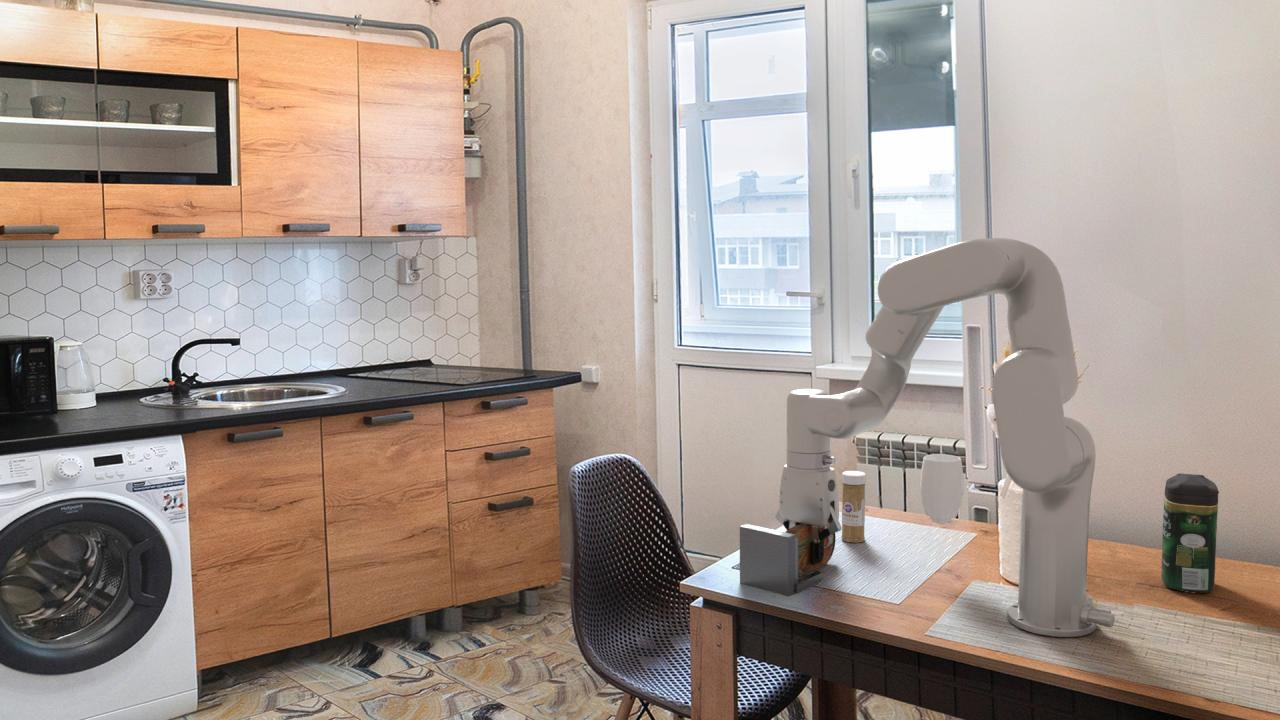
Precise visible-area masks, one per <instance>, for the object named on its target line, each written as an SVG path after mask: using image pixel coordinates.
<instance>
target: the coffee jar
mask: <svg viewBox="0 0 1280 720" xmlns="http://www.w3.org/2000/svg"><path fill="white" fill-rule="evenodd" d="M1219 494H1220V491H1219V489H1218V486H1217V485H1216V483H1215V482H1213V480H1210V479H1209V478H1207V477H1205V476H1204V475H1203V474H1194V473H1193V474H1191V473H1176V474H1175V475H1173V476H1171V477H1169V478H1168V479H1167V480H1165V487H1164V498H1163V499H1164V500H1163V510H1162V513H1163V515H1162V539H1161V540H1162V542H1161V544H1162V549H1161V550H1162V552H1161V580H1162V582H1163V584H1164V586H1165V585H1166V586H1165V587H1167V588H1168V587H1169V588H1168V589H1172V588H1173V590H1176V589H1177V590H1176V591H1179V590H1183V591H1188V592H1200V594H1201V592H1202V593H1210V592H1212V591H1213V590H1214V589H1215V579H1216V578H1215V577H1216V551H1217V550H1216V549H1217V533H1218V532H1217V530H1218V512H1219V511H1218V510H1219Z"/></svg>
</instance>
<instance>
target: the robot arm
mask: <svg viewBox="0 0 1280 720" xmlns="http://www.w3.org/2000/svg"><path fill="white" fill-rule="evenodd" d="M997 294H998V295H999V294H1000V295H1003V296H1004V297H1005V298H1006V301H1007V317H1006V318H1007V329H1008V334H1009V339H1010V348H1011V349H1010V350H1011V354H1010V355H1008V356H1007V357H1006V358H1004V359H1003V360H1002V361H1001V363H1000V364H999V365H998V367H996V370H995V372H994V375H993V380H992V387H991V389H992V391H991V393H992V403H993V409H994V417H995V422H996V423H995V424H996V430H997V436H998V441H999V442H998V443H999V449H1000V450H999V451H1000V456H1001V460H1002V463H1003V467H1004V470H1005V472H1006V474H1007V475H1008V477H1009V478H1010V480H1011V481H1012V482H1013V483H1014V484H1015V485H1016V486H1018V487H1019V488H1020V489H1022V496H1021V505H1020V528H1019V529H1020V530H1019V531H1020V534H1019V535H1020V536H1019V560H1018V561H1019V565H1018V566H1019V567H1018V569H1019V570H1018V598H1017V600H1018V601H1017V602H1016V603H1014V604H1012V605H1010V606H1009V607H1008V608H1007V610H1006V617H1007V620H1008V621H1009V622H1010V624H1012V625H1013V626H1015V627H1017V628H1019V629H1021V630H1024V631H1025V632H1029V633H1032V634H1037V635H1042V636H1045V637H1046V636H1047V637H1048V636H1049V637H1058V638H1077V637H1083V636H1086V635H1087V636H1088V635H1090V634H1092V633H1093V632H1094V631H1095V630H1096V628H1097V625H1099V626H1102V627H1106V628H1110V629H1111V628H1112V629H1113V627H1114V624H1115V619H1116V618H1115V614H1112V610H1111V609H1108V608H1103V607H1097V606H1096V605H1095V604H1093V595H1090V594H1087V581H1088V580H1087V576H1088V575H1087V572H1088V553H1089V552H1088V550H1089V547H1088V546H1089V527H1090V513H1091V510H1090V509H1091V506H1090V505H1091V495H1092V489H1093V488H1092V487H1093V480H1094V473H1095V466H1096V445H1095V441H1094V439H1093V436H1092V434H1091V432H1090V431H1089V430H1088V429H1087V427H1086V426H1084V424H1082V423H1081V422H1080V421H1078V420H1076V419H1074V418H1072V417H1068V416H1065V413H1064V405H1065V404H1067V403H1069V401H1071V399H1073V398H1074V396H1075V395H1076V393H1077V390H1078V387H1079V373H1078V368H1077V362H1076V356H1075V349H1074V342H1073V337H1072V336H1073V335H1072V330H1071V327H1070V321H1069V314H1068V309H1067V301H1066V295H1065V289H1064V284H1063V279H1062V278H1061V275H1060V272H1059V269H1058V268H1057V266H1056V264H1055V263H1054V262H1053V260H1052V259H1051V258H1050V257H1049V256H1048V255H1047V254H1046V253H1045V252H1044V251H1042V250H1041V249H1039V248H1038V247H1036V246H1035V245H1032V244H1029V243H1028V242H1024V241H1021V240H1017V239H1012V238H1004V237H991V238H974V239H968V240H963V241H960V242H957V243H953V244H950V245H947V246H943V247H940V248H938V249H934V250H931V251H928V252H924V253H921V254H919V255H915V256H911V257H908V258H904V259H902V260H898V261H896V262H893V263H892V264H890V265H889V266H888V267H887V268H886V269H885V270H884V271H883V272H882V274H881V275H880V278H879V280H878V283H877V297H878V299H879V302H880V304H881V307H880V309H879V311H878V312H877V314H876V316H875V318H874V319H873V320H872V322H871V324H870V326H869V327H868V329H867V331H866V333H865V341H866V344H867V345H868V347H869V348H870V349H871V358H870V361H869V363H868V366H867V368H866V370H865V372H864V374H863V375H862V377H861V379H860V380H859V382H858V383H857V385H856V386H855V388H854V389H853V390H848V391H845V392H842V393H837V394H831V395H830V394H829V393H828V392H827V391H825V390H822V389H818V388H817V389H816V388H800V389H794V390H792V391H790V392H789V393H788V394H787V397H786V464H784V466H783V470H782V473H781V479H780V486H779V496H778V497H779V500H778V501H779V502H778V503H779V504H778V505H779V506H778V507H779V508H778V510H777V512H776V514H775V519H776V520H777V521H778V522H779V523H781V525H783V527H784V528H785V530H786V531H787V530H788V529H790V528H792V527H794V526H797V525H799V524H802V523H803V524H808V525H812V535H813V542H812V543H810V563H811V564H812V565H815V564H817V563H820V562H822V560H823V557H824V540H826V539H827V538H828V537H829V536H830V535H831V534H833V533H835V534H836V533H837V532H840V531H842V524H841V523H840V521H839V519H840V499H839V498H840V497H839V488H838V481H837V476H836V472H835V467H834V468H833V467H831V465H833V466H834V465H835V464H836V461H837V460H836V457H835V456H832V455H831V438H832V439H834V440H835V439H836V440H837V439H838V440H845V439H848V438H853V437H856V436H858V435H860V434H862V433H866V432H868V431H872V430H874V429H875V428H877V427H878V426H879V425H881V424H882V423H883V421H885V420H886V418H887V417H888V415H889V414H890V412H891V410H892V408H893V407H894V405H895V404H896V402H897V401H898V399H899V398H900V396H901V394H902V392H903V391H904V388H905V386H906V384H907V381H908V376H909V373H910V371H911V370H910V369H911V366H912V360H913V359H914V356H915V354H916V353H917V351H918V349H919V348H920V347H921V345H922V343H923V341H924V340H925V338H926V336H927V335H928V333H929V331H930V330H931V328H932V326H934V323H935V322H936V321H937V319H938V317H939V316H940V314H941V313H942V310H943V309H944V307H945V306H948V305H952V304H955V303H956V304H957V303H959V302H963V301H966V300H967V301H968V300H972V299H976V298H979V297H986V296H993V295H997ZM827 522H829V524H830V527H829V528H826V525H827Z"/></svg>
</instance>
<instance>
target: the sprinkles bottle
mask: <svg viewBox="0 0 1280 720" xmlns="http://www.w3.org/2000/svg"><path fill="white" fill-rule="evenodd" d="M841 482H842V502H841V503H842V507H841V527H842V529H841V541H844V542H847V543H850V542H851V544H852V543H853V544H857V543H859V544H860V543H862V542H865V540H866V539H865V538H866V537H865V524H866V523H865V521H866V519H865V518H866V514H865V513H866V483H867V474H866V472H863V471H859V470H845V471H843V472H842V473H841Z"/></svg>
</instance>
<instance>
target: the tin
mask: <svg viewBox="0 0 1280 720" xmlns="http://www.w3.org/2000/svg"><path fill="white" fill-rule="evenodd" d="M829 527H830V524H829V522H827V525H826V528H829ZM785 532H786V533H791V534H795V538H796V539H798V577H803V576H806V575H808V574H810V573H812V572H814V570H815V571H816V570H818V569H819V568H821V567H824V566H826V565H827V564H828V563H829V562H830V560H831V559H832V556H833V555H834V554H833V553H834V551H835V547H836V532H835V533H833V534H831V535H830V536H829V537H828V538H827V539H826V540H824V557H823V560H822V562H820V563H817V564H815V565H812V564H811V563H810V543H812V542H813V535H812V525H808V524H803V523H802V524H799V525H797V526H794V527H792V528H790V529H788V530H786V531H785ZM802 575H803V576H802Z"/></svg>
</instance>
